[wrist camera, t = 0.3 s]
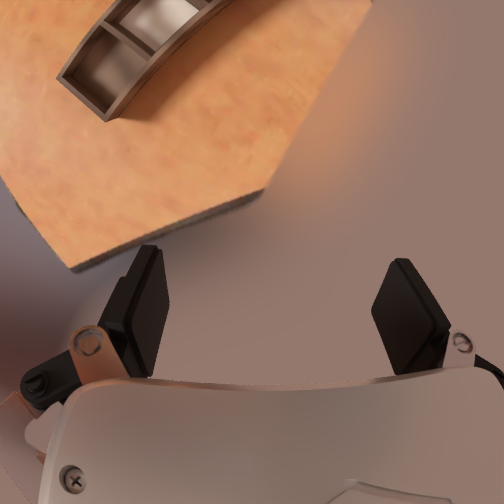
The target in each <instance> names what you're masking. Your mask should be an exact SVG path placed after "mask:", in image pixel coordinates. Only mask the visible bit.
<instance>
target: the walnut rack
mask: <svg viewBox="0 0 504 504" xmlns="http://www.w3.org/2000/svg"><path fill="white" fill-rule="evenodd" d="M233 1H235V0H116V1H115V2H114V3H113V4H112V5H111V6H110V7H109V8H108V9H107V10H106V12H105V13H104V14H103V15H102V16H101V17H100V18H99V20H98V21H97V22H96V23H95V24H94V26H93V27H92V28H91V29H90V31H89V32H88V33H87V34H86V36H85V37H84V38H83V40H82V41H81V42H80V44H79V45H78V46H77V48H76V49H75V50H74V52H73V53H72V55H71V56H70V58H69V59H68V61H67V62H66V64H65V65H64V67H63V68H62V70H61V71H60V73H59V74H58V76H57V78H56V79H57V80H58V81H59V82H60V83H61V84H62V85H64V86H65V87H66V88H67V89H68V90H69V91H70V92H71V93H73V94H74V95H75V96H76V97H77V98H78V99H79V100H81V101H82V102H83V103H84V104H85V105H86V106H87V107H88V108H90V109H91V110H92V111H93V112H94V113H95V114H96V115H98V116H99V117H100V118H101V119H102V120H103V121H104V122H108V121H110V120H113V119H116V118H118V116H119V115H120V114H121V113H122V111H123V110H124V109H125V107H126V106H127V105H128V104H129V102H130V101H131V100H132V99H133V97H134V96H135V95H136V94H137V93H138V91H139V90H140V89H141V88H142V87H143V86H144V84H145V83H146V82H147V81H148V80H149V79H150V78H151V77H152V75H153V74H154V73H155V72H156V71H157V70H158V69H159V68H160V67H161V66H162V65H163V64H164V63H165V62H166V61H167V59H168V58H169V57H170V56H171V55H172V54H173V53H174V52H175V51H176V50H177V49H179V48H180V47H181V46H182V45H183V44H184V43H185V42H186V41H187V40H188V39H189V38H190V37H191V36H192V35H193V34H195V33H196V32H197V31H198V30H199V29H200V28H201V27H202V26H204V25H205V24H206V23H207V22H208V21H209V20H211V19H212V18H213V17H214V16H215V15H217V14H218V13H219V12H220V11H222V10H223V9H224V8H226V7H227V6H228V5H229V4H231V3H232V2H233Z"/></svg>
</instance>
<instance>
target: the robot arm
mask: <svg viewBox="0 0 504 504" xmlns="http://www.w3.org/2000/svg"><path fill="white" fill-rule="evenodd" d="M168 310H169V296H168V289H167V282H166V275H165V268H164V261H163V253H162V250H161V249H158V247H157V246H156V245H142V246H141V248H140V250H139V251H138V254H137V255H136V257H135V259H134V261H133V263H132V265H131V267H130V269H129V271H128V273H127V275H126V277H121V278H120V279H119V281H118V283H117V285H116V287H115V289H114V290H113V293H112V294H111V297H110V299H109V301H108V303H107V305H106V307H105V309H104V311H103V313H102V316H101V318H100V320H99V322H98V325H97V326H95V325H88V326H84V327H82V328H80V329H78V330H77V331H75V332H74V333H73V335H72V336H71V338H70V341H69V350H67V351H65V352H63V353H61V354H59V355H57V356H56V357H54V358H52V359H50V360H48V361H46V362H44V363H42V364H40V365H38V366H36V367H35V368H32V369H31V370H29V371H28V372H27V373H26V374H25V375H24V376H23V378H22V380H21V384H20V391H19V392H18V393H16V392H15V391H14V392H13V393H12V394H11V395H10V396H9V397H8V398H7V399H6V400H5V401H4V402H3V403H2V404H1V405H0V463H1V464H2V466H3V467H4V469H5V470H6V472H7V473H8V474H9V476H10V477H11V479H12V480H13V481H14V483H15V484H16V485H17V487H18V488H19V489H20V491H21V492H22V493H23V495H24V496H25V497H26V498H27V500H28V501H29V502H30V503H31V504H504V373H503V372H502V371H501V370H500V369H499V368H497V367H496V366H494V365H493V364H491V363H489V362H488V361H486V360H485V359H483V358H481V357H480V356H478V355H477V354H475V352H476V346H475V343H474V341H473V339H472V338H471V337H470V336H469V335H468V334H467V333H466V332H464V331H461V330H454V331H452V332H451V333H450V332H449V331H448V330H449V329H450V327H451V324H450V322H449V320H448V319H447V317H446V315H445V314H444V312H443V311H442V309H441V307H440V305H439V304H438V302H437V301H436V299H435V297H434V296H433V294H432V293H431V291H430V289H429V288H428V286H427V285H426V283H425V282H424V281H423V279H422V277H421V276H420V274H419V273H418V271H417V270H416V269H415V267H414V266H413V264H412V263H411V261H410V260H409V259H407V258H396V259H395V260H394V261H392V262H391V264H390V266H389V268H388V271H387V273H386V276H385V278H384V280H383V283H382V285H381V288H380V290H379V292H378V294H377V297H376V299H375V301H374V303H373V306H372V309H371V313H372V316H373V319H374V321H375V323H376V326H377V329H378V331H379V334H380V336H381V338H382V341H383V344H384V346H385V349H386V352H387V354H388V357H389V360H390V363H391V365H392V368H393V371H394V373H395V375H396V376H390V377H382V378H374V379H366V380H357V381H346V382H336V383H320V384H298V385H236V384H215V383H198V382H183V381H173V380H163V379H148V378H147V377H151V376H152V374H153V370H154V366H155V361H156V357H157V353H158V349H159V344H160V341H161V337H162V333H163V329H164V325H165V321H166V318H167V314H168ZM49 439H50V442H49V446H48V450H47V453H46V445H47V442H48V441H49Z"/></svg>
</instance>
